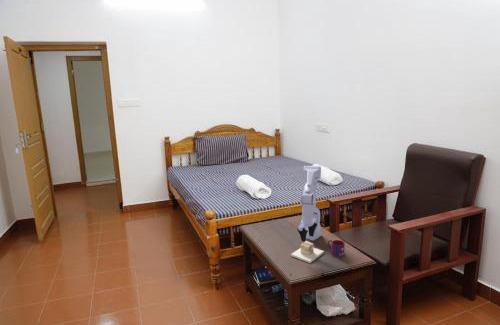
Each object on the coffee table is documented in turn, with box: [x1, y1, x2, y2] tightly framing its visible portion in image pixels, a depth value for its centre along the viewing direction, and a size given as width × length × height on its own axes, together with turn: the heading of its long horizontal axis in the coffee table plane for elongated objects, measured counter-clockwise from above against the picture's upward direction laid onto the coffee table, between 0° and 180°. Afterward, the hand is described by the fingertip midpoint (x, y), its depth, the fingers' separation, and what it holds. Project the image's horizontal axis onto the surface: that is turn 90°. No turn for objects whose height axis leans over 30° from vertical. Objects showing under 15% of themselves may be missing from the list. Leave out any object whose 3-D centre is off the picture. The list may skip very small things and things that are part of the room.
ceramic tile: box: [290, 247, 325, 264], centre depth 184 cm, size 14×12×1 cm
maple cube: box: [300, 240, 315, 256], centre depth 184 cm, size 5×5×5 cm
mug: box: [327, 239, 346, 258], centre depth 184 cm, size 7×10×7 cm
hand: (307, 238), depth 182 cm, fingers open, 7 cm apart
